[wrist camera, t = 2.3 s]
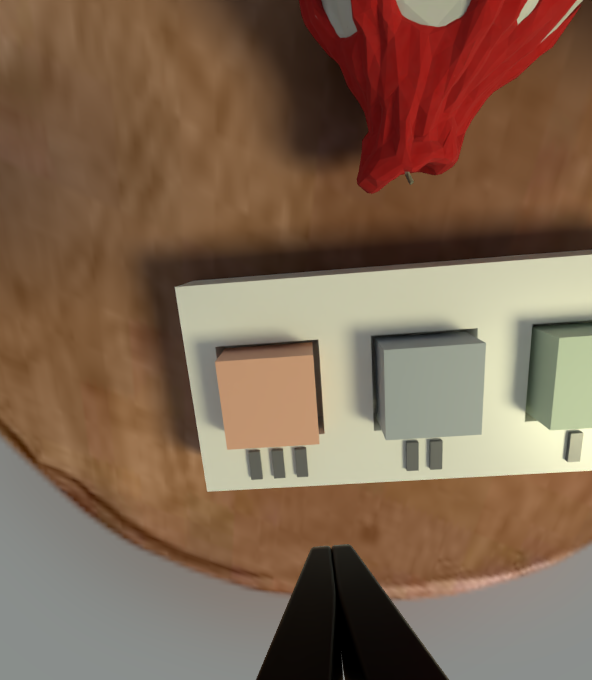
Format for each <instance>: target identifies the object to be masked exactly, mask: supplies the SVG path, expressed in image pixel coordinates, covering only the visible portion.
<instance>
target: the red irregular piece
mask: <svg viewBox="0 0 592 680" xmlns="http://www.w3.org/2000/svg"><path fill="white" fill-rule="evenodd" d="M582 1H583V0H299V3H300V9H301V15H302V18H303V21H304V23H305V26H306V27H307V28H308V30H309V31H310V33H311V34H312V36H313V37H314V38H315V40H316V41H317V42H318V43H319V44H320V46H321V47H322V48H323V49H324V51H325V52H326V53H327V54H328V55H329V56H330V57H331V58H332V59H334V60H335V61H336V62H337V63H338V64H339V66H340V68H341V70H342V73H343V75H344V78H345V81H346V84H347V86H348V88H349V89H350V91H351V92H352V93H353V95H354V96H355V98H356V99H357V100H358V102H359V104H360V106H361V107H362V109H363V111H364V113H365V117H366V122H367V126H368V131H369V132H368V133H367V134H366V136H365V137H364V139H363V140H362V154H361V161H360V167H359V173H358V176H357V184H358V185H359V186H360V187H361V188H362V189H363V190H365V191H366V192H367V193H371V194H373V193H375V192H378V191H379V190H380V189H382V188H383V187H384V186H385V185H386V184H388V183H389V182H390V181H391V180H394V179H396V178H397V177H398V176H399V175H402V174H405V176H406V178H407V180H408V182H409V184H410V185H411V184H412V183H413V182H414V181H413V179H412V177H411V175H410V173H414V172H423V173H427V174H431V175H438V174H442V173H444V172H445V171H447V170H448V169H450V168H452V167H453V165H454V164H455V163H456V162H457V160H458V157H459V154H460V150H461V146H462V143H463V139H464V135H465V132H466V130H467V128H468V127H469V125H470V123H471V121H472V119H473V118H474V117H475V115H476V114H477V112H478V111H479V110H480V108H481V107H482V105H483V104H484V102H485V101H486V100H487V98H488V97H489V96H490V95H491V94H492V93H493V92H494V91H496V90H498V89H499V88H501V87H502V86H504V85H506V84H507V83H509V82H510V81H512V80H514V79H515V78H517V77H518V76H519V75H520V74H521V73H522V72H523V71H524V70H525V69H527V68H528V67H529V66H530V65H531V64H532V63H533V62H534V61H535V60H536V59H537V58H538V57H539V56H540V55H542V54H544V53H545V52H546V51H548V50H549V49H550V48H552V47H553V46H554V44H555V43H556V41H557V40H558V39H559V37H560V36H561V34H562V33H563V31H564V30H565V28H566V27H567V26H568V24H569V23H570V21H571V20H572V18H573V17H574V15H575V14H576V13H577V11H578V10H579V8H580V7H581V5H582V4H580V3H581V2H582ZM579 4H580V5H579Z"/></svg>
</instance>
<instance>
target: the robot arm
mask: <svg viewBox="0 0 592 680" xmlns="http://www.w3.org/2000/svg"><path fill="white" fill-rule="evenodd" d="M341 655H342V656H341ZM342 663H343V670H342ZM343 671H344V677H345V680H449V679H448V678H447V676H446V675H445V674H444V672H443V671H442V669H441V668H440V667H439V665H438V664H437V663H436V662H435V660H434V659H433V657H432V656H431V654H430V653H429V652H428V650H427V649H426V647H425V646H424V645H423V643H422V642H421V641H420V639H419V638H418V637H417V635H416V634H415V632H414V631H413V630H412V628H411V627H410V626H409V624H408V623H407V621H406V620H405V619H404V617H403V616H402V615H401V613H400V612H399V610H398V609H397V608H396V606H395V605H394V604H393V602H392V601H391V599H390V598H389V597H388V595H387V594H386V593H385V591H384V590H383V589H382V587H381V586H380V584H379V583H378V582H377V580H376V579H375V578H374V576H373V575H372V573H371V572H370V571H369V569H368V568H367V567H366V565H365V564H364V562H363V561H362V560H361V558H360V557H359V556H358V554H357V553H356V551H355V550H354V549H353V547H352V546H351V545H349V544H346V545H334V546H332V550H331V548H330V547H329V546H319V547H313V548H312V549H311V550H310V552H309V555H308V557H307V560H306V562H305V564H304V567H303V569H302V571H301V574H300V576H299V579H298V581H297V583H296V586H295V588H294V591H293V593H292V595H291V598H290V600H289V603H288V605H287V607H286V610H285V612H284V614H283V617H282V619H281V622H280V624H279V626H278V629H277V631H276V634H275V636H274V638H273V641H272V643H271V645H270V648H269V650H268V652H267V655H266V657H265V660H264V662H263V664H262V667H261V669H260V671H259V674H258V676H257V679H256V680H343Z"/></svg>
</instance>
